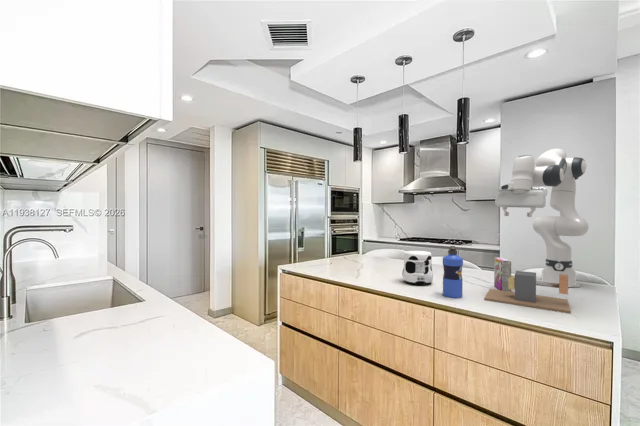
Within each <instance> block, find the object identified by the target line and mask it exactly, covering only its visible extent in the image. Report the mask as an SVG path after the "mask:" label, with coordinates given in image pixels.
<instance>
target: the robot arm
mask: <svg viewBox="0 0 640 426" xmlns="http://www.w3.org/2000/svg"><path fill="white" fill-rule="evenodd" d="M586 170H587V163H586V161H585V159H584V158H583V157H578V156H576V157H567V153H566V151H565V150H564V149H562V148H551V149H548V150H545V152H543V153H542V154H540V155H539V156H538V158H537V159H536V158H535V156H534V155H532V154H529V155H528V154H527V155H526V154H525V155H519V156H517V157H515V160H514V162H513V166H512V172H511V174H512V178H511V180H510V182H509V183H506V184H502V185H499V186H498V190H499V191H498V192H497V193H496V196H495V201H494V205H495V206H496V207H498V208H502V210H503V212H504V214H503V215H504V217H509V215H510V212H509V211H507V210H508V208H522V209H523V208H530V211H529V212H526V217H527V218H532V217H533V213H534V212H535V211H536V210H537V209H544V208H545V207H546V203H547V201H546V200H547V199H546V197H547V196H548V190H547V189H546V188H544V187H551V191H550V199H549V206H550V207H551V208H552V209H553V210H555V211H558V212H559V216H557V215H556V216H555V215H553V216H551V215H543V216H538V217H536V218H535V219H534V220H533V223H532V228H533V230H534V232H535V233H537V234H538V235H539V236H540V237H541V238H542V239H543V241H544V243H545V248H546V258H545V266H544V267H543V268H542V269H541V278H540V279H538V280H537V281H541V282H550V283H559V274H565V275H568V288H574V287H575V288H580V287H581V284H579V283H578V282H577V274H576V273H577V272H576V271H575V269H573V261H572V247H571V246H570V245H569V244H568V243H567V242H564V241H562V239H561V238H560V236H561V237H580V236H584V235H586V234H587V233H588V231H589V223H588V221H587V220H586V218H584V217H582V216H581V215H580V214H579V212H578V211H577V209H576V204H575V202H576V191H577V184H576V180H578V179H579V178H580V177H582V176H583V175H584V174H585V173H586Z"/></svg>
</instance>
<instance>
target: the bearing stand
mask: <svg viewBox="0 0 640 426" xmlns="http://www.w3.org/2000/svg"><path fill="white" fill-rule="evenodd" d="M514 276H515V289H514V291H511V292H510V291H502V290H499V289H494V288H490V289H488V292H487V293H486V294H485V296H484V298H483V300H484V301H489V302H495V303H500V304H507V305H514V306H519V307H527V308H533V309H540V310H546V311H551V310H552V311H553V312H557V311H559V312H558V313H564V312H565V313H566V314H571V313H572V312H571V311H572V310H571V307H570V304H569V303H570V302H569V300H568V298H560V297H552V296H546V295H545V296H544V295H538V294H537V285H536V281H537V272H534V271H533V272H532V271H525V270H524V271H523V270H515V273H514ZM552 311H551V312H552ZM565 313H564V314H565Z"/></svg>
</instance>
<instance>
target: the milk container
mask: <svg viewBox="0 0 640 426" xmlns="http://www.w3.org/2000/svg"><path fill="white" fill-rule="evenodd" d="M432 256H433V255H432V253H431V251H426V250H406V251H404V252H403V269H402V271H401V272H402V279H403V281H404V282H406V283H409V284H411V285H428V284H432V282H433V280H434V272H433V268H432V266H433V265H432V260H433V258H432Z"/></svg>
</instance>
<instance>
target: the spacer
mask: <svg viewBox="0 0 640 426" xmlns="http://www.w3.org/2000/svg"><path fill="white" fill-rule="evenodd" d="M514 282H515V275H512V274H511V275H509V277H508V289H511V290H514V291H515V283H514Z"/></svg>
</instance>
